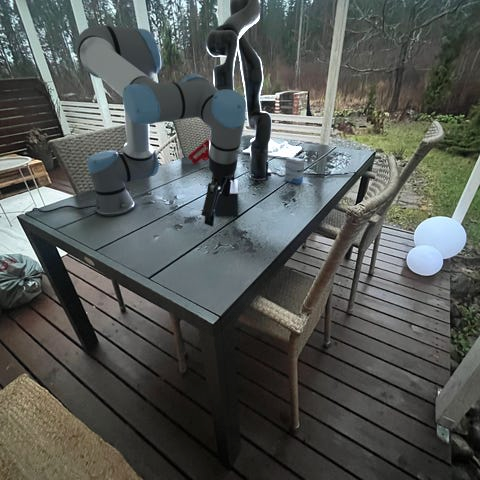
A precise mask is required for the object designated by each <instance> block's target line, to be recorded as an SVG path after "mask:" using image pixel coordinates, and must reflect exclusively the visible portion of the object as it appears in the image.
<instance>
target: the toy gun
mask: <svg viewBox="0 0 480 480" xmlns="http://www.w3.org/2000/svg"><path fill="white" fill-rule="evenodd" d="M209 145H210V138H208V139H206V140H205V141H204V142H203V143H201V144H200V145H199V146H198V147H197V148H196V149H194V151H192V152H191V153H190V154H188V159H189V160H190V161H191V162H192V163H193V164H197V163H198V162H200V161H201V160H202V161H204V162H205V161H207V160H209Z"/></svg>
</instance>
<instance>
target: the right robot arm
mask: <svg viewBox="0 0 480 480" xmlns="http://www.w3.org/2000/svg"><path fill="white" fill-rule="evenodd" d="M229 3H230V5H229V10H230V11H229V12H230V16H229V17H228V18H226V20H225V21H224V22H223V23H222V24H220V25H218V26H216V27H214V28H213V29H211V30H210V31H209V32H208V34H207V35H206V41H205V46H206V50H207V52H208V54H209V55H211V56H212V57H215V58H216V57H217V58H218V57H219V58H220V57H225V60H224V62H223V63H221V64H217V65H215V66H214V67H213V70H212V73H213V86H214V87H215V88H217V89H218V90H219V91H220V90H226V89H228V90H233V91H235V86H234V83H235V82H234V81H235V80H234V71H235V64H236V59H237V54H238V58H239V62H240V63H239V65H240V72H241V78H242V83H243V89H244V96H245V97H244V98H245V100H246V103H247V106H246V116H247V118H246V119H247V124H248V126H249V128H250V129H251V130H253V131H255V136H254V138H251V139H250V146H251V148H250V154H249V157H250V158H249V160H250V161H249V165H250V166H249V167H250V168H249V178H250V180H253V181H256V182H257V181H265V180H268V179H269V177H271V176H272V174H273V175H277V176H278V177H280V178H282V177H284V178H285V174H279V173H278V172H276V171H275V172H274V171H272V170H271V169H270V168H269V156H268V145H269V141H270V139H271V137H272V129H273V127H272V126H273V120H272V116H271V114H270V112H267V111H262V108H261V101H260V100H261V99H260V96H261V91H262V88H263V83H264V73H263V65H262V60H261V58H260V56H259V55H258V53H257V52H256V51H255V49H253V47H252V45H251V43H250V42H249V40H248V38H247V36H246V31H247V30H248V29H249V28H251V27H252V26H253V25H255V24H257V23H258V22H259V20H260V17H261V6H260V1H259V0H231V1H230V2H229ZM349 172H350V171H349ZM342 173H344V174H342ZM342 173H341V172H339V173H311V172H310V173H309V172H303V176H324V177H328V176H330V177H331V176H343V175H344V176H345V175H349V174H351V173H352V174H357V172H356V171H355V172H350V173H347V172H342Z"/></svg>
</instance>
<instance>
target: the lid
mask: <svg viewBox="0 0 480 480" xmlns="http://www.w3.org/2000/svg"><path fill="white" fill-rule="evenodd" d="M232 177H234V178H235V175H234V176H233V175H232ZM220 188H221V187H218V189H220ZM237 195H238V196H239V178H235V180H234V182H233V181H231V188H230V194H229V196H237ZM219 196H224V195H221V192H220V194H219Z"/></svg>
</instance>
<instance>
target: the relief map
mask: <svg viewBox="0 0 480 480" xmlns="http://www.w3.org/2000/svg"><path fill="white" fill-rule="evenodd" d="M302 147H303V146H294V145H292V144H290V143H289V142H288V141H284V142H282V143H280V144H279V143H278V142H276V141H273V140H272V139H271V138H270V141H269V145H268V157H271V158H277V159H285V160H286V159H287V158H289V157H296V156H297V155H298V154H299V153H300V152H302V151H303V150H304V148H303V149H302ZM250 148H251V145H250V146H249V147H248V148H247V149H245V150H242V153H243V154H247V155H248V154H249V155H250ZM296 153H297V154H296Z"/></svg>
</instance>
